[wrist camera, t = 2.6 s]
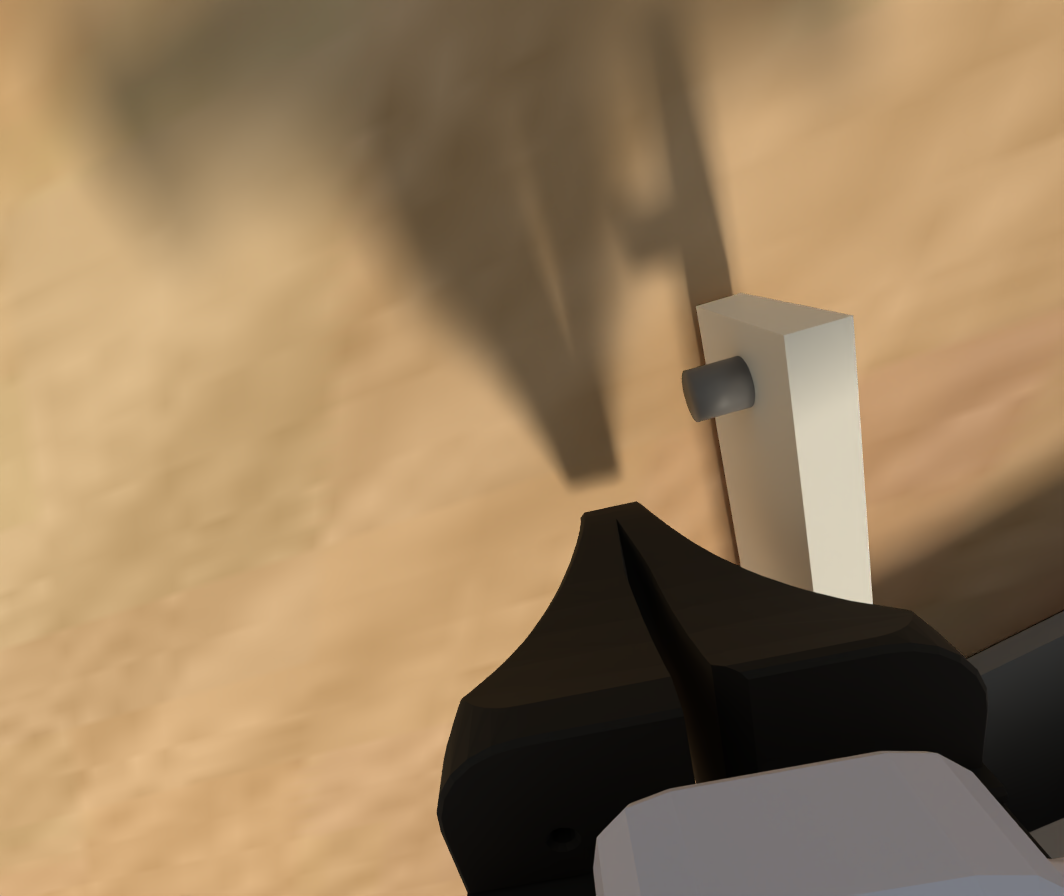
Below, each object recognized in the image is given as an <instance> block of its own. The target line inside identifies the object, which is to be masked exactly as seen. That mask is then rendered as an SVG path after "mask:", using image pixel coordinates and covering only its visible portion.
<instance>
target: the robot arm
mask: <svg viewBox="0 0 1064 896" xmlns="http://www.w3.org/2000/svg"><path fill="white" fill-rule="evenodd" d="M987 715H988V696H987V687H986V685H985V683H984V681H983V679H982V677H981V675H980V673H979V671H978V669H976V668H975V667H974V666H973V665H972V664H971V663H970V662H969V661H968V660H967V659H966V658H965V657H963V656H962V655H961V654H960V653H959V652H958V651H957V650H956V649H955V648H954V647H953V646H952V645H951V644H950V643H949V642H948V641H947V640H946V639H945V638H943V637H942V636H941V635H940V634H939V633H938V632H937V631H936V630H934V629H933V628H932V627H931V626H929V625H928V624H927V623H926V622H924V621H923V620H922V619H921V618H920V617H918V616H917V615H916V614H915V613H913V612H912V611H910V610H904V609H898V608H892V607H886V606H880V605H874V604H868V603H862V602H856V601H850V600H845V599H841V598H837V597H833V596H829V595H824V594H820V593H816V592H812V591H809V590H805V589H802V588H798V587H795V586H791V585H788V584H785V583H782V582H779V581H776V580H773V579H770V578H768V577H765V576H762V575H759V574H757V573H754V572H752V571H749V570H747V569H744V568H742V567H740V566H738V565H736V564H733V563H731V562H729V561H727V560H724V559H722V558H720V557H718V556H716V555H714V554H713V553H711V552H709V551H707V550H705V549H704V548H702V547H700V546H698V545H697V544H695V543H693V542H692V541H690V540H689V539H687V538H686V537H684V536H683V535H681V534H680V533H678V532H677V531H675V530H674V529H672V528H671V527H670V526H668V525H667V524H666V523H664V522H663V521H662V520H660V519H659V518H658V517H656V516H655V515H654V514H653V513H651V512H650V511H649V510H648V509H646V508H645V507H644V506H643V505H641V504H640V503H638V502H637V501H636V502H632V503H627V504H622V505H618V506H613V507H608V508H604V509H599V510H594V511H590V512H585V513H584V514H583V515H582V517H581V526H580V532H579V536H578V540H577V544H576V547H575V550H574V553H573V556H572V559H571V562H570V564H569V567H568V569H567V571H566V574H565V576H564V578H563V580H562V583H561V585H560V587H559V589H558V591H557V593H556V595H555V596H554V598H553V600H552V602H551V603H550V605H549V607H548V608H547V610H546V612H545V613H544V615H543V616H542V618H541V619H540V620H539V622H538V623H537V625H536V626H535V628H534V629H533V630H532V632H531V633H530V634H529V636H528V637H527V638H526V639H525V641H524V642H523V643H522V644H521V645H520V646H519V647H518V649H517V650H516V651H515V652H514V653H513V654H512V655H511V656H510V657H509V658H508V659H507V660H506V661H505V662H504V663H503V664H502V665H501V666H500V667H499V668H498V669H497V670H496V671H495V672H493V673H492V674H491V675H490V676H489V677H487V678H486V679H485V680H484V681H483V682H482V683H480V684H479V685H478V686H477V687H476V688H475V689H473V690H472V691H471V692H470V693H469V694H467V695H466V696H465V697H463V698H462V700H461V701H460V704H459V707H458V710H457V713H456V717H455V720H454V723H453V726H452V730H451V734H450V737H449V740H448V744H447V747H446V752H445V757H444V762H443V769H442V777H441V784H440V792H439V799H438V807H437V817H438V821H439V825H440V830H441V833H442V835H443V838H444V840H445V842H446V844H447V847H448V849H449V851H450V854H451V856H452V858H453V860H454V863H455V865H456V867H457V870H458V872H459V874H460V876H461V879H462V881H463V883H464V885H465V888H466V890H467V892H468V894H467V896H1064V857H1063V858H1056V859H1052V858H1051V857H1050V856H1049V855H1048V854H1047V853H1046V852H1045V850H1044V849H1043V848H1042V847H1041V846H1040V845H1039V843H1038V842H1037V841H1036V840H1035V839H1034V838H1033V837H1032V835H1031V834H1030V833H1029V832H1028V831H1027V830H1026V828H1025V827H1024V826H1023V825H1022V824H1021V823H1020V822H1019V820H1018V819H1017V818H1016V817H1015V816H1014V815H1013V814H1012V812H1011V811H1010V810H1009V809H1008V808H1007V807H1006V805H1005V804H1004V803H1006V802H1007V801H1008V793H1007V791H1006V789H1005V787H1004V786H1003V784H1002V783H1001V782H1000V781H999V780H998V779H997V778H996V777H995V776H994V774H993V773H992V772H991V771H990V770H989V769H988V768H987V767H986V765H985V764H984V763H983V762H982V761H983V752H984V743H985V734H986V725H987ZM695 781H696V784H695Z"/></svg>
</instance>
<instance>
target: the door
mask: <svg viewBox="0 0 1064 896" xmlns="http://www.w3.org/2000/svg"><path fill="white" fill-rule="evenodd" d="M696 310H697V316H698V322H699V328H700V333H701V339H702V345H703V351H704V356H705V362H706V365H703V366H699V367H696V368H692V369H689V370H685V371H683V373H682V386H683V391H684V396H685V399H686V403H687V406H688V408H689V411H690V413H691V415H692V417H693V418H694V420H695V421H696V422H700V421H704V420H707V419H711V418H714V417H715V420H716V426H717V432H718V438H719V443H720V449H721V455H722V461H723V467H724V472H725V478H726V484H727V490H728V495H729V501H730V507H731V513H732V519H733V524H734V530H735V536H736V542H737V548H738V553H739V559H740V565H741V567H742V568H744V569H747V570H749V571H752V572H754V573H757V574H759V575H762V576H765V577H768V578H770V579H773V580H776V581H779V582H782V583H785V584H788V585H791V586H795V587H798V588H802V589H805V590H809V591H812V592H816V593H820V594H824V595H829V596H833V597H837V598H841V599H845V600H850V601H856V602H862V603H868V604H873V600H872V585H871V571H870V556H869V541H868V526H867V512H866V497H865V482H864V468H863V453H862V438H861V423H860V409H859V394H858V379H857V365H856V350H855V335H854V321H853V315H848V314H843V313H838V312H833V311H828V310H823V309H818V308H814V307H809V306H804V305H799V304H794V303H789V302H784V301H779V300H774V299H769V298H764V297H759V296H754V295H749V294H744V293H739V294H736V295H732V296H729V297H725V298H722V299H719V300H715V301H712V302H708V303H705V304H702V305H698V306H696Z"/></svg>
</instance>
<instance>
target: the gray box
mask: <svg viewBox="0 0 1064 896" xmlns="http://www.w3.org/2000/svg"><path fill="white" fill-rule="evenodd" d="M967 660H968V661H969V662H970V663H971V664H972V665H973V666H974V667H975V668H976V669H978V671H979V673H980V675H981V677H982V679H983V681H984V683H985V685H986V687H987V696H988V715H987V725H986V734H985V743H984V752H983V761H982V762H983V763H984V764H985V765H986V767H987V768H988V769H989V770H990V771H991V772H992V773H993V774H994V776H995V777H996V778H997V779H998V780H999V781H1000V782H1001V783H1002V784H1003V786H1004V787H1005V789H1006V791H1007V793H1008V801H1007V802H1006V803H1004V804H1005V805H1006V807H1007V808H1008V809H1009V810H1010V811H1011V812H1012V814H1013V815H1014V816H1015V817H1016V818H1017V819H1018V820H1019V822H1020V823H1021V824H1022V825H1023V826H1024V827H1025V828H1026V830H1027V831H1028V832H1029V833H1030V834H1031V835H1032V837H1033V838H1034V839H1035V840H1036V841H1037V842H1038V843H1039V845H1040V846H1041V847H1042V848H1043V849H1044V850H1045V852H1046V853H1047V854H1048V855H1049V856H1050V857H1051V858H1052V859H1056V858H1063V857H1064V611H1063V612H1061V613H1059V614H1057V615H1055V616H1053V617H1051V618H1049V619H1047V620H1045V621H1043V622H1040V623H1038V624H1036V625H1034V626H1032V627H1030V628H1028V629H1026V630H1024V631H1022V632H1020V633H1018V634H1016V635H1014V636H1012V637H1010V638H1008V639H1006V640H1004V641H1002V642H1000V643H998V644H996V645H994V646H992V647H990V648H988V649H986V650H984V651H982V652H980V653H978V654H976V655H974V656H972V657H970V658H968V659H967Z"/></svg>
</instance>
